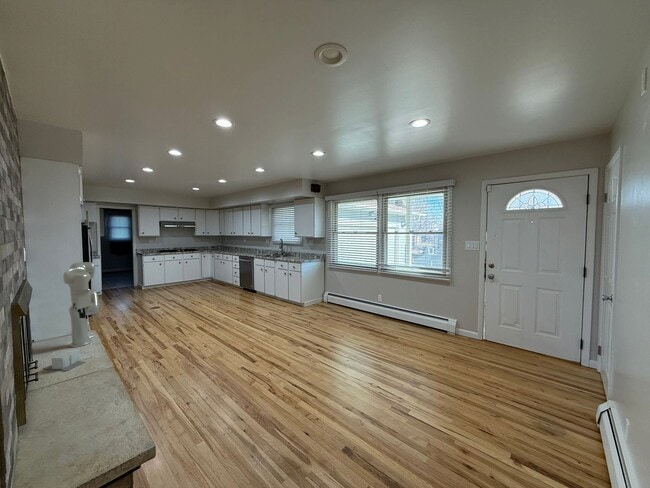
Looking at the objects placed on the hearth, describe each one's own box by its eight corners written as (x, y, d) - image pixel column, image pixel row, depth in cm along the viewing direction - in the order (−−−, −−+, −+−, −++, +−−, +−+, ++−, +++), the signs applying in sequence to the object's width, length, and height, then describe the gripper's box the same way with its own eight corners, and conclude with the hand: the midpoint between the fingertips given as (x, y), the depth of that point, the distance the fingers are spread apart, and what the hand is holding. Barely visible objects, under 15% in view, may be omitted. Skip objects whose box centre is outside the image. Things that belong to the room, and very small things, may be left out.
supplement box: (81, 360, 187) (63, 369, 174) (70, 360, 187) (51, 369, 174) (80, 349, 186) (62, 358, 174) (69, 349, 187) (50, 357, 174)
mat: (63, 360, 187) (63, 360, 187) (85, 362, 184) (85, 361, 184) (42, 369, 175) (42, 368, 175) (66, 371, 172) (66, 370, 172)
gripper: (87, 289, 200) (88, 314, 201) (65, 294, 186) (66, 320, 186) (96, 289, 199) (97, 314, 200) (74, 294, 184) (75, 321, 185)
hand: (82, 317), depth 193 cm, fingers closed
